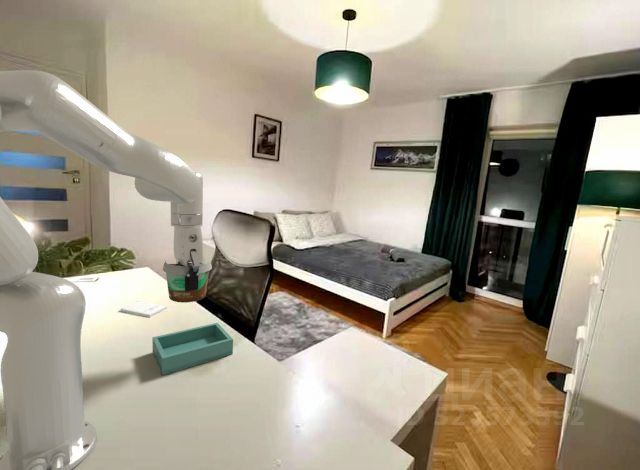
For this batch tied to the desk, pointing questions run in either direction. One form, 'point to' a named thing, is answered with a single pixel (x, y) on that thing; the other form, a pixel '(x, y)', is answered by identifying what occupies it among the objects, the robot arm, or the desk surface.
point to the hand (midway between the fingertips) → (186, 285)
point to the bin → (191, 347)
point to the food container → (177, 282)
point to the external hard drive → (143, 309)
